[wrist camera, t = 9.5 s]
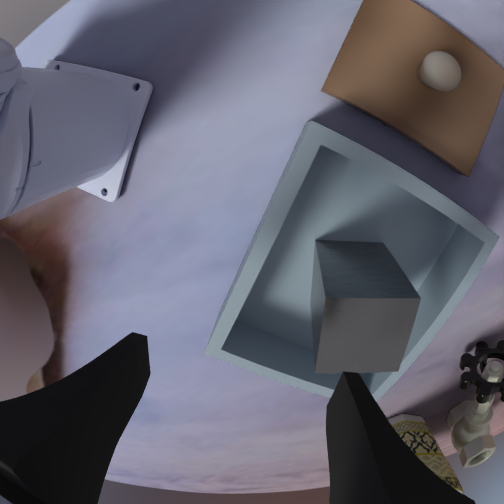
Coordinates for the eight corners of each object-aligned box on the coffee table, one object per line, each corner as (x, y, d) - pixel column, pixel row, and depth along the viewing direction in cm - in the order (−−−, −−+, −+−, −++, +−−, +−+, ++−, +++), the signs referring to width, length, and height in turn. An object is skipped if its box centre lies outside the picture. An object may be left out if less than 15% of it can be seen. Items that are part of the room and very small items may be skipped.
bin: (217, 316, 22) (204, 353, 18) (306, 121, 16) (311, 120, 13) (362, 370, 22) (369, 408, 19) (467, 215, 17) (499, 236, 13)
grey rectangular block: (310, 301, 20) (314, 373, 14) (314, 239, 18) (325, 297, 12) (373, 303, 19) (398, 371, 13) (383, 242, 18) (421, 298, 12)
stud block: (321, 90, 15) (328, 82, 12) (369, -14, 12) (385, -39, 9) (460, 174, 16) (491, 186, 13) (499, 74, 13) (532, 70, 9)
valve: (482, 412, 24) (507, 330, 20) (500, 455, 18) (542, 378, 14) (431, 430, 25) (447, 351, 21) (445, 478, 19) (476, 409, 15)
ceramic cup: (436, 387, 23) (468, 477, 13) (440, 436, 26) (459, 508, 16) (304, 431, 26) (301, 523, 17) (333, 470, 29) (334, 543, 20)
